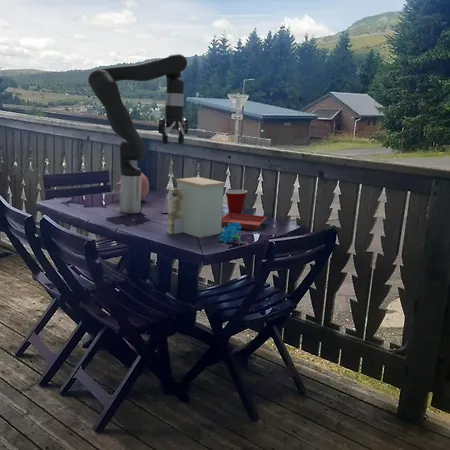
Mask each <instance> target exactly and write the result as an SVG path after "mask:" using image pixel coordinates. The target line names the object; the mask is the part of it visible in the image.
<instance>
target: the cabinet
mask: <svg viewBox="0 0 450 450" xmlns="http://www.w3.org/2000/svg"><path fill="white" fill-rule="evenodd" d="M175 182H176V184H177V185H176V186H177V187H176V188H183V210H182V218H178V219H174V233H173V234H175V235H176V234H182V233H185V234H187V235H191V236H194V237H197V238H205V237H210V236H215V235H221V234H220V232H221V231H222V224H221V222H222V218H223V204H224V203H223V201H224V187H225V186H226V182H224V181H219V180H216V179H215V180H214V179H209V178H206V177H205V178H204V177H201V176H197V177H195V176H194V177H187V178H186V177H184V178H183V177H182V178H176V179H175Z"/></svg>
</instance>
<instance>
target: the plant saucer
mask: <svg viewBox="0 0 450 450" xmlns="http://www.w3.org/2000/svg"><path fill="white" fill-rule="evenodd" d="M266 219H267V216H266V215H265V216H262V215H255V214H254V215H253V214H243V213H242V214H236V213H229V212H228V213H226V214H225V215H224V216H222V222H221V227H225V226H226V227H227V228H228V223H231V224H233V222H236V223H238V222H239V224H240V225H241V226H242V228H243V229H244V230H249V229H252V231H256V230H257V229H258V228H259V227H260V226H261V225H262V224H263V223H264V222H265V220H266ZM237 227H238V226H237ZM243 229H242V230H243Z"/></svg>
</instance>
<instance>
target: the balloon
mask: <svg viewBox="0 0 450 450" xmlns="http://www.w3.org/2000/svg"><path fill="white" fill-rule="evenodd" d="M115 186H117V187H118V190H119V192H120V191H121V178H120V179H119V181H118V182H117V183H115ZM149 190H150V182H149V179H148V177H147V176H146V175H145V174H144V173H143V172H141V200H143V198H145V197H146V196H147V194H148V192H149Z"/></svg>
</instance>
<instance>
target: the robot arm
mask: <svg viewBox="0 0 450 450" xmlns="http://www.w3.org/2000/svg"><path fill="white" fill-rule="evenodd" d="M187 66H188V61H187V58H186V57H185V55H183V54H180V53H174V54H170V55H169V56H167V57H164V58H160V59H159V58H158V59H153V60H149V61H145V62H142V63H141V62H140V63H137V64H133V65H124V66H115V67H114V66H113V67H103V68H98V69H96V70H94V71H92V72H91V73H90V74H89V75H88V78H87V79H88V80H87V81H88V84H89V86H90V89H91V90H92V92H93V93H94V95H95V96H96V98H97V99H98V100H99V102H100V103H101V105H102V106H103V108H104V109H105V111H106V119H107V121H108V123H109V125H110V127H111V129H112V131H113V132H114V133H115V134H116V135H117V136H118V137H120V138H121V139H123V140H121V142H120V144H119V145H120V146H119V161H120V164H119V165H120V179H121V191H120V190H119V212H120V213H124V214H138V213H141V208H142V207H141V205H142V199H141V173H142V169H141V168H140V167H137V166H136V165H134V164H133V163H132V161H137V162H138V161H139V162H140V161H143V160H144V159H145V157H146V155H147V151H146V150H147V149H146V145H145V143H144V141H143V139H142V137H141V136H140V134H139V132H138V130H137V129H136V127H135V124H134V122H133V119H132V116H131V114H130V112H129V111H128V108H127V107H126V106H125V103H123V101H122V98H121V97H122V96H121V94H120V91H119V87H118V84H117V82H119V81H134V82H147V81H152V80H156V79H158V78H159V79H160V78H162V77H164V76H165V78H166V94H165V101H164V102H165V103H164V104H165V107H164V115H165V118H159V120H158V133H159V134H161V135H162V136H161V137H162V139H161V142H162V144H163V145H168V143H169V142H168V138H169V135H168V134H169V133H170V132H171V131H172V130H173V131H174V130H176V131H177V133H178V142H177V143H178V144H179V145H183V143H184V140H185V139H184V138H185V135H187V134H188V133H189V120H188V119H187V118H183V117H184V102H185V101H184V99H185V97H184V85H185V84H184V83H185V82H184V81H183V79H182V72H184V71H185V70H186V68H187Z"/></svg>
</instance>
